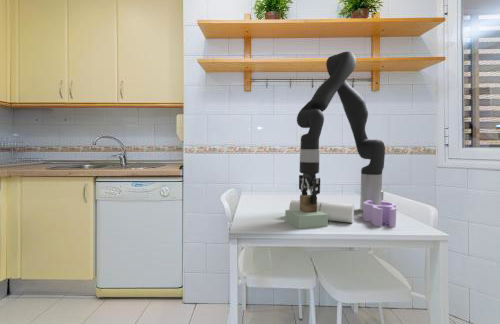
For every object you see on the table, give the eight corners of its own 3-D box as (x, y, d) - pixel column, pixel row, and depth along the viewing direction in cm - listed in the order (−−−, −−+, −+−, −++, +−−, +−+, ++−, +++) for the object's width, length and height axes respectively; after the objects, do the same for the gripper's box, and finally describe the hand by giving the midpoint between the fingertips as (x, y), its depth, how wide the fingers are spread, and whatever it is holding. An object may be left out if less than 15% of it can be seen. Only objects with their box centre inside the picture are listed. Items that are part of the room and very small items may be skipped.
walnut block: (311, 209, 129) (311, 194, 128) (316, 212, 124) (317, 196, 124) (299, 209, 128) (300, 195, 127) (304, 212, 123) (305, 197, 122)
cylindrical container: (288, 207, 132) (351, 213, 121) (292, 196, 137) (353, 201, 127) (290, 220, 136) (352, 226, 125) (294, 208, 141) (354, 214, 131)
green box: (311, 220, 132) (312, 208, 131) (327, 227, 120) (328, 214, 120) (285, 222, 128) (285, 210, 128) (299, 230, 116) (299, 216, 116)
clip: (403, 228, 119) (404, 210, 118) (368, 226, 121) (369, 208, 121) (390, 216, 138) (391, 200, 138) (360, 215, 141) (360, 199, 140)
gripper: (327, 161, 119) (326, 205, 120) (309, 160, 133) (309, 199, 134) (309, 162, 117) (308, 206, 118) (293, 160, 131) (292, 200, 132)
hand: (308, 202), depth 126 cm, fingers open, 7 cm apart
